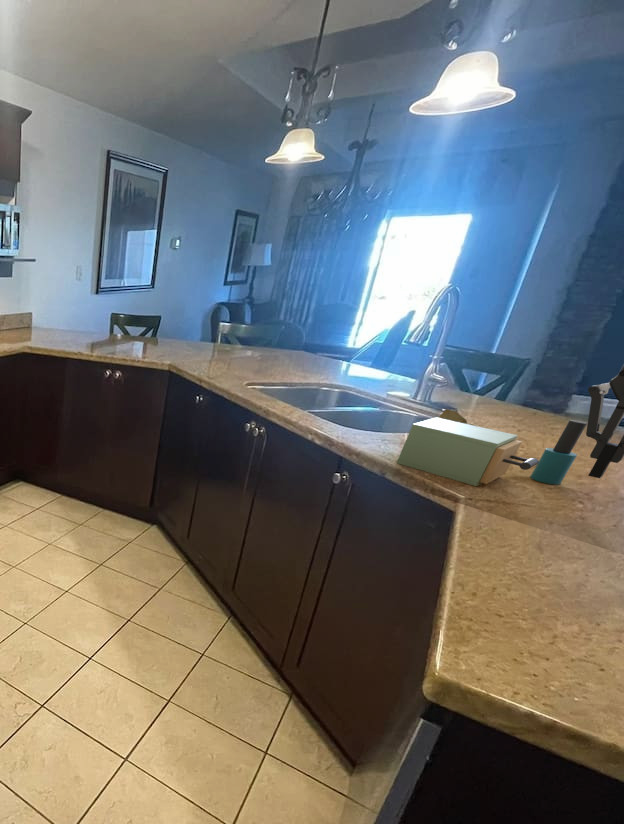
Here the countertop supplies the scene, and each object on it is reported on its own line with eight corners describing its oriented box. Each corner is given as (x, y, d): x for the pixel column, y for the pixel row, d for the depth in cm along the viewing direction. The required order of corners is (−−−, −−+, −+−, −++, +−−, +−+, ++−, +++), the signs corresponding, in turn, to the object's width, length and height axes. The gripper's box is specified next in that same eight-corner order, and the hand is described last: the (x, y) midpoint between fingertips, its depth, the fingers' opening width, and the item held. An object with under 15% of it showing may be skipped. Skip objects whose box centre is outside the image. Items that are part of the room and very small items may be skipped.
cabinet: (496, 475, 112) (518, 435, 108) (476, 486, 106) (497, 443, 102) (419, 454, 124) (435, 417, 120) (396, 463, 117) (412, 423, 113)
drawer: (531, 481, 108) (550, 447, 104) (513, 491, 101) (533, 456, 98) (431, 454, 121) (445, 423, 118) (410, 462, 115) (424, 430, 112)
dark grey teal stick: (562, 482, 110) (597, 423, 105) (557, 486, 108) (592, 426, 102) (533, 474, 114) (565, 417, 108) (527, 478, 112) (559, 419, 106)
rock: (484, 443, 127) (440, 427, 134) (494, 421, 121) (447, 406, 129) (456, 469, 127) (413, 452, 134) (464, 449, 121) (419, 432, 128)
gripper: (728, 357, 83) (651, 484, 92) (612, 347, 93) (552, 462, 102) (725, 359, 80) (644, 491, 89) (604, 348, 90) (542, 468, 99)
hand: (595, 475), depth 96 cm, fingers closed
